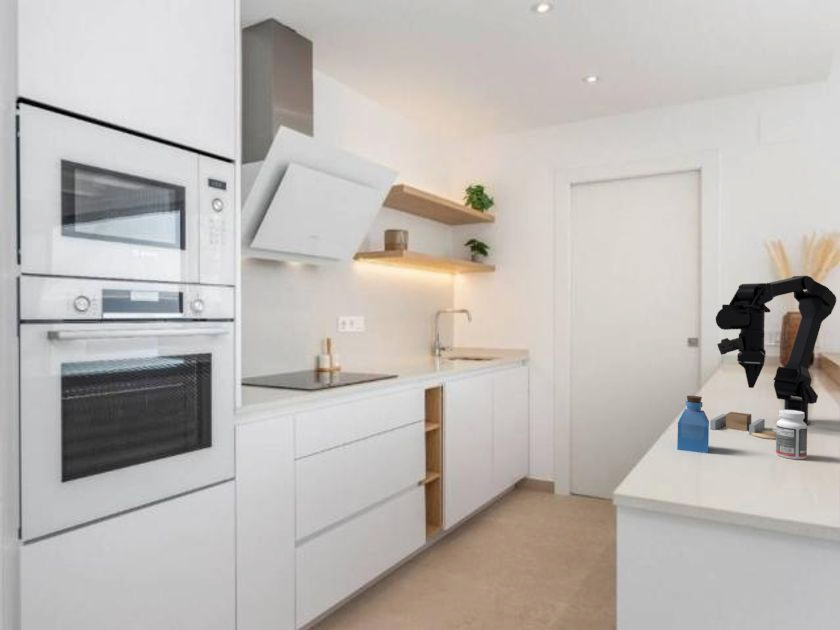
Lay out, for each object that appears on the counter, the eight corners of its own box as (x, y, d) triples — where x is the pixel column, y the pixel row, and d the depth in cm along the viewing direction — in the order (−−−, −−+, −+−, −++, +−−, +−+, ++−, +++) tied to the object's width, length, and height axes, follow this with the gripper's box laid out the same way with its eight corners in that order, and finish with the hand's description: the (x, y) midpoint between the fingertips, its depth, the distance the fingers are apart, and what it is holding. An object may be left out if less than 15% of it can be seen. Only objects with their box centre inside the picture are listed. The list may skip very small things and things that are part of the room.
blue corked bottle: (677, 449, 132) (678, 397, 132) (679, 444, 138) (680, 393, 138) (707, 453, 130) (708, 399, 129) (708, 447, 135) (709, 396, 135)
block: (730, 426, 161) (731, 411, 161) (751, 428, 157) (751, 414, 157) (725, 428, 157) (726, 414, 157) (746, 431, 154) (746, 416, 154)
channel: (722, 422, 164) (722, 413, 164) (764, 428, 157) (764, 419, 157) (710, 429, 155) (710, 419, 155) (754, 435, 148) (754, 425, 148)
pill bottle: (797, 453, 130) (798, 409, 130) (812, 460, 125) (813, 414, 124) (770, 452, 131) (771, 408, 131) (783, 459, 125) (785, 413, 125)
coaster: (754, 431, 154) (754, 428, 154) (789, 436, 148) (789, 433, 148) (747, 435, 148) (747, 433, 148) (783, 441, 142) (783, 438, 142)
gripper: (722, 327, 172) (721, 379, 172) (716, 329, 156) (715, 387, 156) (765, 327, 166) (765, 382, 167) (764, 330, 150) (764, 391, 151)
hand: (751, 385), depth 160 cm, fingers open, 9 cm apart
